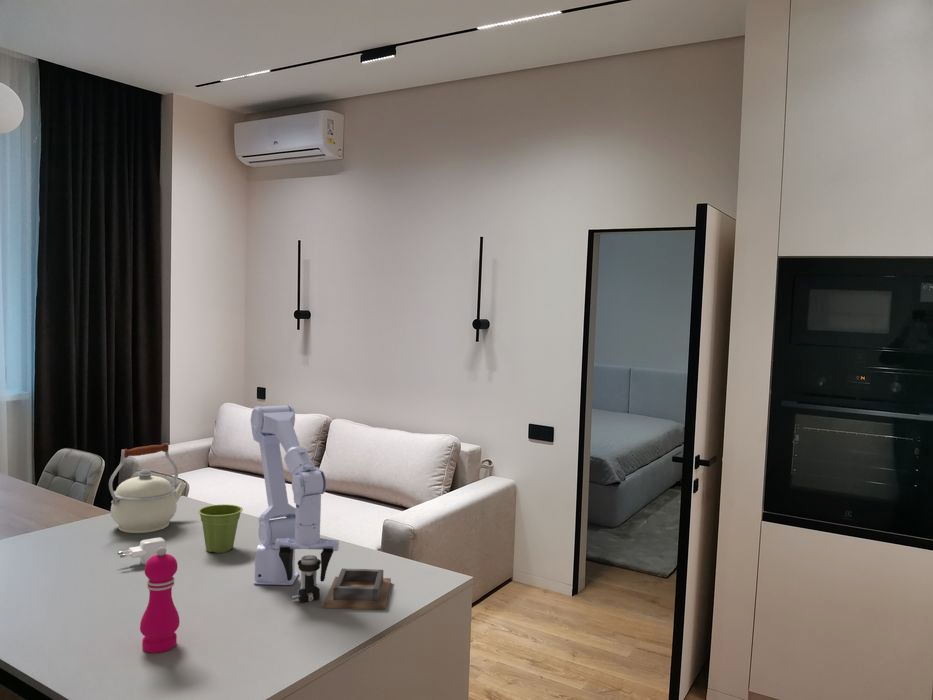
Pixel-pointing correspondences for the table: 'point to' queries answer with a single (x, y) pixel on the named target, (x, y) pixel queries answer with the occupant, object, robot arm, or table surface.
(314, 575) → the push button
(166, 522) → the kettle
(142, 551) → the power adapter
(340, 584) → the socket board
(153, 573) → the pepper mill
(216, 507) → the plant pot
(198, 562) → the table surface
